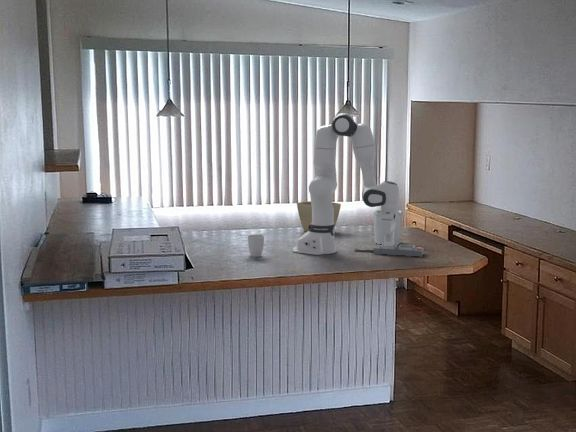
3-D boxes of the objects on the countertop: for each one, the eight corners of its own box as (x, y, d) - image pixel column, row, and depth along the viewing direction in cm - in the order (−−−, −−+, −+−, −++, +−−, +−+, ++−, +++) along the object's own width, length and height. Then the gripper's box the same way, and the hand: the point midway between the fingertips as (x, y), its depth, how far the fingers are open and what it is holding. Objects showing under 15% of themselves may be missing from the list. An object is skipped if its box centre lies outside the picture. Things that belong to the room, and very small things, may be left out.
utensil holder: (387, 246, 375) (388, 214, 373) (367, 242, 387) (368, 210, 384) (406, 243, 385) (407, 211, 382) (386, 239, 396) (386, 208, 393)
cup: (267, 255, 354) (267, 235, 353) (258, 258, 347) (258, 238, 346) (253, 253, 358) (253, 233, 357) (244, 256, 351) (244, 236, 350)
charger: (383, 247, 358) (384, 230, 356) (385, 245, 362) (385, 229, 361) (392, 247, 356) (393, 231, 355) (393, 245, 361) (394, 229, 359)
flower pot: (319, 227, 432) (319, 199, 430) (341, 231, 418) (341, 203, 415) (295, 230, 420) (295, 202, 418) (317, 235, 406) (317, 206, 403)
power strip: (352, 252, 361) (353, 244, 360) (356, 249, 369) (356, 241, 368) (421, 257, 351) (421, 248, 350) (423, 253, 359) (423, 245, 358)
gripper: (386, 210, 367) (385, 236, 369) (380, 216, 348) (379, 243, 350) (398, 210, 365) (398, 237, 368) (392, 216, 346) (392, 244, 348)
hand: (388, 240), depth 359 cm, fingers closed on charger, 4 cm apart
